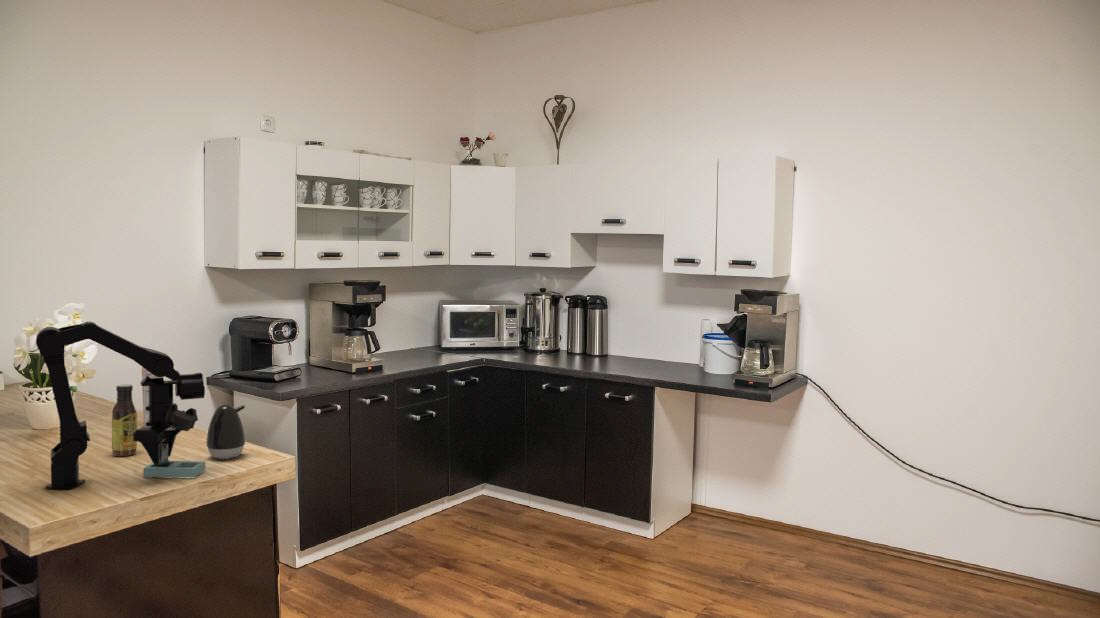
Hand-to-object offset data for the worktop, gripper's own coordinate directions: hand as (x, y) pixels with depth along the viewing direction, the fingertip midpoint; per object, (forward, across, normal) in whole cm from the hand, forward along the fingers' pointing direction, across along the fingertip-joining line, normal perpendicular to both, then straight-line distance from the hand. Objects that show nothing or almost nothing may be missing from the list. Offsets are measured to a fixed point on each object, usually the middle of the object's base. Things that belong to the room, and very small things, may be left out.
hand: (162, 460), depth 208 cm
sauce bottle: (+4, +18, +19) cm, 26 cm away
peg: (+4, 0, 0) cm, 4 cm away
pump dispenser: (+4, +17, -10) cm, 20 cm away
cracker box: (+4, +50, +26) cm, 56 cm away
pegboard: (+4, 0, -3) cm, 5 cm away
